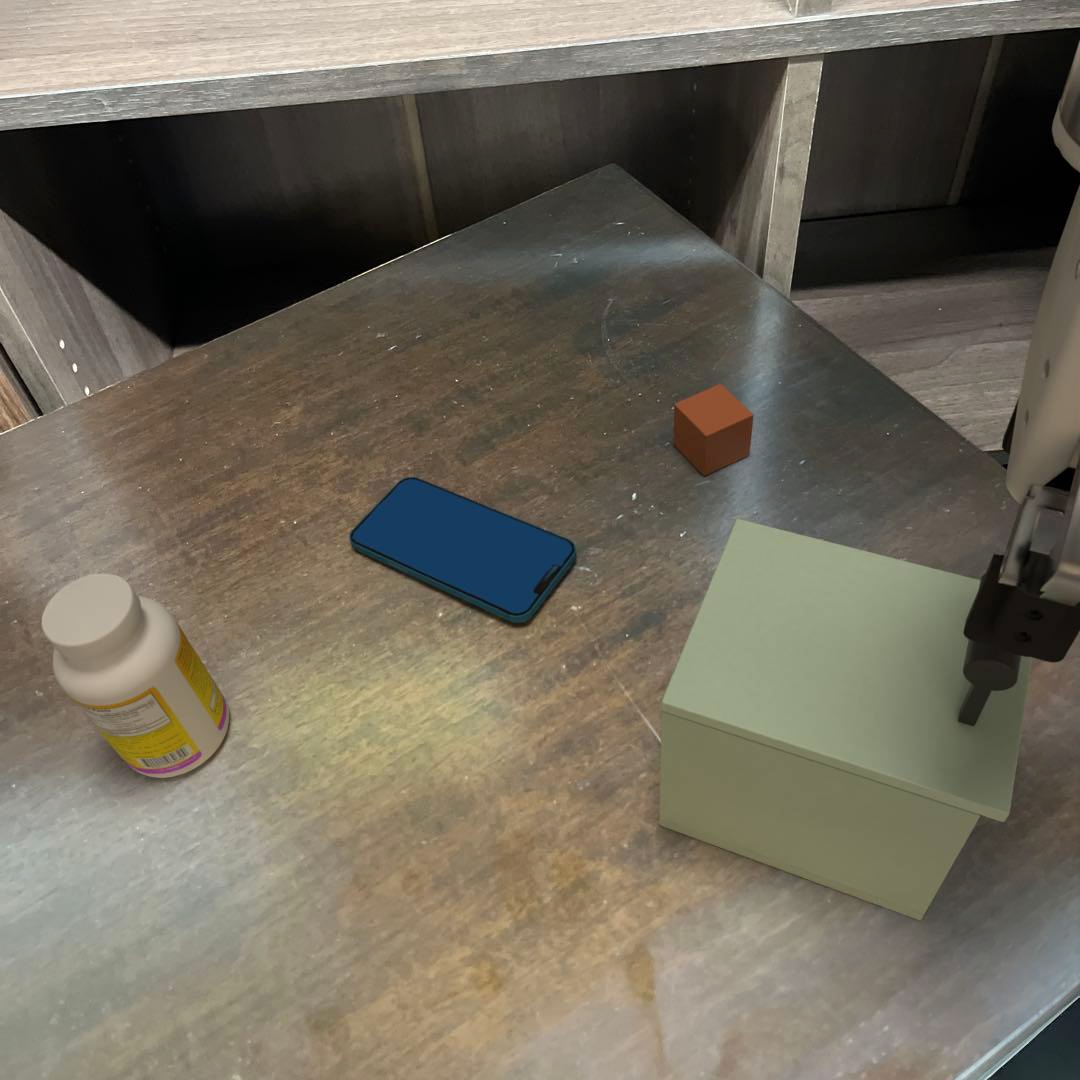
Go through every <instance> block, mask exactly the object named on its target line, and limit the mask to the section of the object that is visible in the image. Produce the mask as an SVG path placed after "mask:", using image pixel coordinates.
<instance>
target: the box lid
mask: <svg viewBox="0 0 1080 1080" xmlns="http://www.w3.org/2000/svg"><path fill="white" fill-rule="evenodd" d="M719 558H720V559H718V563H717V564H716V567H715V570H714V573H713V575H712V577H711V580H710V582H709V584H708V587H707V589H706V591H705V594H704V597H703V599H702V602H701V603H700V607H699V608H698V611H697V614H696V616H695V618H694V621H693V623H692V626H691V628H690V631H689V633H688V636H687V637H686V640H685V643H684V646H683V648H682V650H681V652H680V655H679V657H678V659H677V662H676V664H675V667H674V670H673V672H672V674H671V677H670V679H669V682H668V684H667V686H666V689H665V692H664V694H663V696H662V699H661V703H660V705H661V706H660V709H661V710H662V711H664V712H667V713H670V714H673V715H676V716H679V717H683V718H686V719H689V720H692V721H695V722H698V723H701V724H704V725H707V726H710V727H713V728H716V729H719V730H722V731H725V732H728V733H732V734H735V735H738V736H741V737H744V738H747V739H750V740H753V741H756V742H759V743H762V744H765V745H768V746H771V747H774V748H778V749H781V750H784V751H787V752H790V753H793V754H796V755H799V756H802V757H805V758H808V759H811V760H814V761H817V762H820V763H823V764H827V765H830V766H833V767H836V768H839V769H842V770H845V771H848V772H851V773H854V774H857V775H860V776H863V777H866V778H869V779H872V780H876V781H879V782H882V783H885V784H888V785H891V786H894V787H897V788H900V789H903V790H906V791H909V792H912V793H915V794H918V795H922V796H925V797H928V798H931V799H934V800H937V801H940V802H943V803H946V804H949V805H952V806H955V807H958V808H961V809H964V810H967V811H971V812H974V813H977V814H980V815H981V816H983V817H986V818H989V819H992V820H996V821H998V822H1001V823H1004V822H1005V821H1006V820H1007V819H1008V817H1009V815H1010V813H1011V807H1012V800H1013V799H1012V798H1013V793H1014V786H1015V779H1016V772H1017V765H1018V759H1019V753H1020V747H1021V746H1020V745H1021V738H1022V733H1023V726H1024V720H1025V719H1024V718H1025V713H1026V712H1025V711H1026V705H1027V698H1028V691H1029V685H1030V679H1031V671H1032V664H1033V659H1034V658H1032V657H1024V656H1019V655H1016V654H1012V653H1009V652H1006V651H1003V650H1001V649H999V648H997V647H993V646H989V645H986V644H982V643H979V642H975V641H972V640H969V639H968V638H966V637H965V636H964V633H963V632H964V627H965V622H966V619H967V616H968V614H969V611H970V609H971V607H972V604H973V602H974V600H975V597H976V595H977V593H978V590H979V588H980V586H981V583H982V581H983V578H984V576H985V574H986V572H985V573H984V574H983V575H982V576H981V577H980V579H976V578H974V577H969V576H965V575H963V574H962V575H961V574H957V573H953V572H949V571H946V570H941V569H937V568H934V567H929V566H926V565H922V564H918V563H914V562H910V561H907V560H903V559H898V558H895V557H891V556H887V555H882V554H880V553H879V554H878V553H874V552H871V551H866V550H863V549H859V548H856V547H851V546H848V545H843V544H840V543H839V544H838V543H835V542H832V541H827V540H823V539H820V538H815V537H812V536H808V535H804V534H800V533H795V532H792V531H788V530H784V529H781V528H776V527H772V526H769V525H765V524H761V523H756V522H753V521H749V520H745V519H741V518H736V519H735V521H734V523H733V526H732V528H731V530H730V533H729V535H728V537H727V540H726V544H725V545H724V548H723V550H722V552H721V555H720V557H719Z"/></svg>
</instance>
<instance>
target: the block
mask: <svg viewBox="0 0 1080 1080" xmlns="http://www.w3.org/2000/svg"><path fill="white" fill-rule="evenodd" d="M673 405H674V406H673V407H674V408H673V409H674V410H673V443H672V444H673V446H674V447H675V448H676V449H677V450H678V451H679V452H680V453H681V454H682V455H683V456H684V457H685V458H686V459H687V460H688V461H689V462H690V464H691V465H692V466H693V467H694V468H695V469H696V470H697V471H698V472H699V473H700V474H701V476H703V477H705V476H708V475H710V474H713V473H714V472H716V471H718V470H719V471H720V469H723V468H725V467H727V466H729V465H732V464H734V463H736V462H737V461H740V460H742V459H745V458H746V457H749V456H750V454H751V443H752V435H753V425H754V417H755V416H754V413H753V412H752V411H751V410H749V409H748V408H747V406H746V405H744V404H743V403H742V402H741V401H740V400H739V399H738V398H737V397H736V396H735V395H734V394H733V393H731V392H730V391H729V390H728V389H727V388H726V387H725V386H724V385H723V384H722V383H719V384H717V385H714V386H711V387H710V388H708V389H705V390H703V391H701V392H699V393H696V394H694V395H691V396H689V397H687V398H684V399H683V400H679V401H678V402H676V403H674V404H673Z"/></svg>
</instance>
